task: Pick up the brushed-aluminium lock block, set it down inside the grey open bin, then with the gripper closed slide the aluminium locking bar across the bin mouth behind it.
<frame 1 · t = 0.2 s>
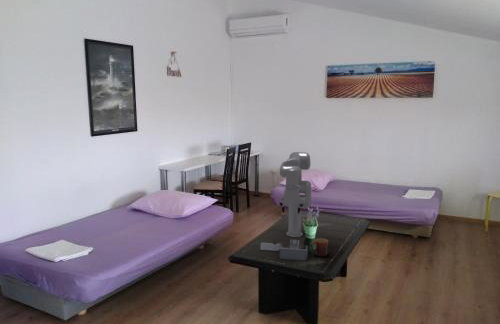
hand: (291, 212, 259), 30 cm above the table, fingers open, 9 cm apart
track: (269, 250, 276), on the table
grey open bin: (293, 256, 265), on the table
lock block: (294, 249, 277), on the table
mug: (318, 255, 267), on the table
lock bar: (270, 245, 275), point 3 cm above the table, slide at 0.0 cm
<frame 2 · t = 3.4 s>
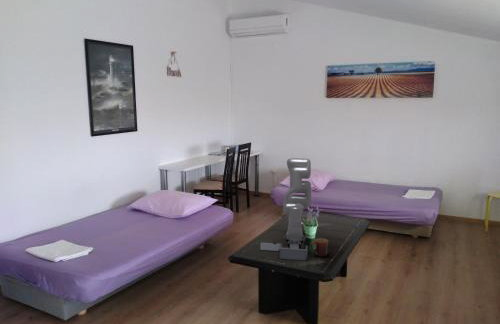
hand: (294, 248, 277), 1 cm above the table, fingers closed on lock block, 6 cm apart
lock block: (294, 249, 277), on the table, touching gripper
everything else where it was.
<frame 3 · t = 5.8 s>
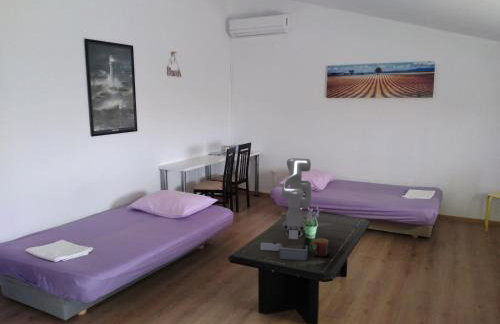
hand: (293, 235, 264), 14 cm above the table, fingers closed on lock block, 6 cm apart
lock block: (293, 236, 264), point 13 cm above the table, touching gripper
everything else where it was.
when the fingers open (2 cm above the table, at t = 8.3 s): lock block drops 2 cm, on the table.
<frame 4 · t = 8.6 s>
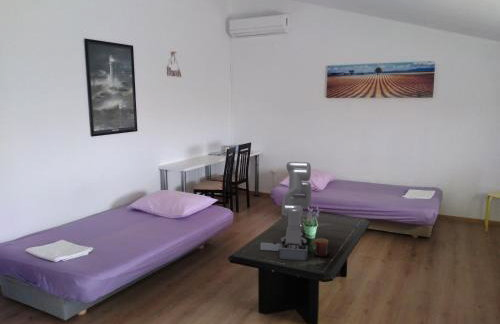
hand: (293, 251, 266), 3 cm above the table, fingers open, 9 cm apart
lock block: (293, 255, 267), on the table
everything else where it was.
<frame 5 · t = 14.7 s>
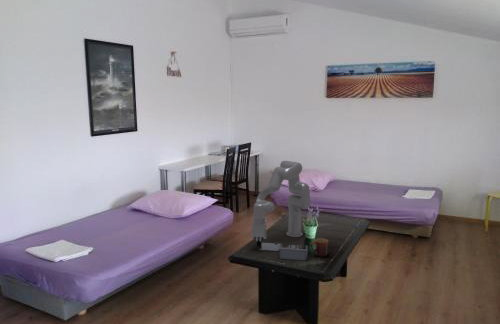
hand: (258, 246, 276), 3 cm above the table, fingers closed
lock bar: (271, 245, 275), point 3 cm above the table, slide at 0.7 cm, touching gripper
everything else where it was.
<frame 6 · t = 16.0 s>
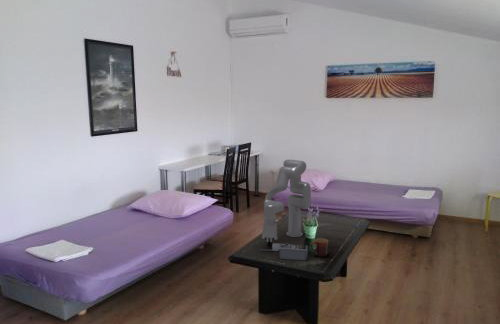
hand: (269, 246, 275), 3 cm above the table, fingers closed
lock bar: (282, 246, 273), point 3 cm above the table, slide at 8.2 cm, touching gripper
everything else where it was.
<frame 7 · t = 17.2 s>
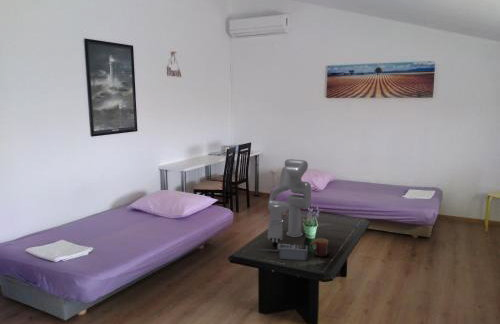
hand: (275, 247, 274), 3 cm above the table, fingers closed
lock bar: (287, 247, 273), point 3 cm above the table, slide at 12.0 cm, touching gripper
everything else where it was.
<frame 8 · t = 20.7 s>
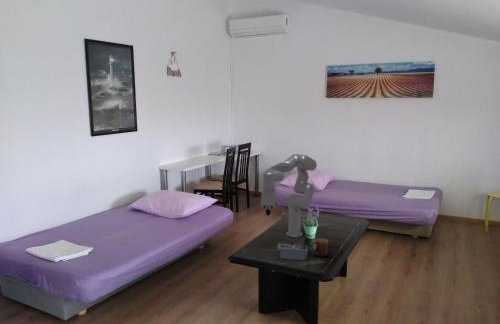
hand: (268, 214, 279), 23 cm above the table, fingers closed
lock bar: (287, 247, 273), point 3 cm above the table, slide at 12.0 cm
everything else where it was.
at the end: lock block inside the target area (1.0 cm from its centre), on the table; lock block tilted 0°; lock bar slide at 12.0 cm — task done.
